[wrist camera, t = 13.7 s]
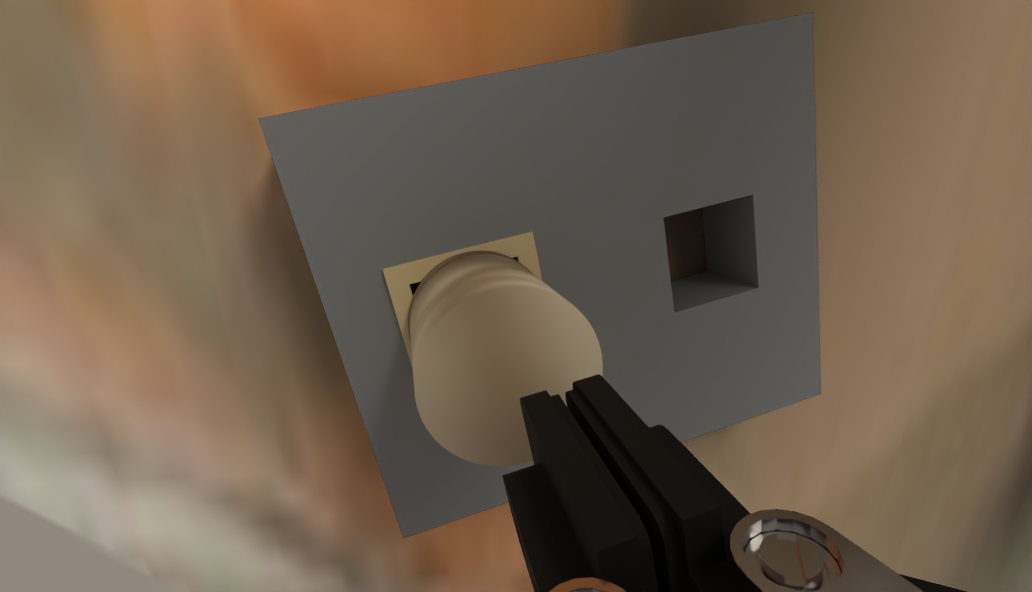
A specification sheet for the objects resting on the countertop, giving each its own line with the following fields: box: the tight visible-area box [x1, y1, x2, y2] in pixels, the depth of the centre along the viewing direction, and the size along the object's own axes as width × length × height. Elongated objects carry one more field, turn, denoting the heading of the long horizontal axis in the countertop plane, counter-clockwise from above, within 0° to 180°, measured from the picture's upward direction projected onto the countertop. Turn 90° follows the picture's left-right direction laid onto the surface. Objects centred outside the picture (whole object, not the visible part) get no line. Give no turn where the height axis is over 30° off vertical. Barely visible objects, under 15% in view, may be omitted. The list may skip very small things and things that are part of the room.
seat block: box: [258, 12, 821, 538], centre depth 23 cm, size 22×18×4 cm
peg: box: [408, 251, 603, 466], centre depth 19 cm, size 6×6×10 cm
